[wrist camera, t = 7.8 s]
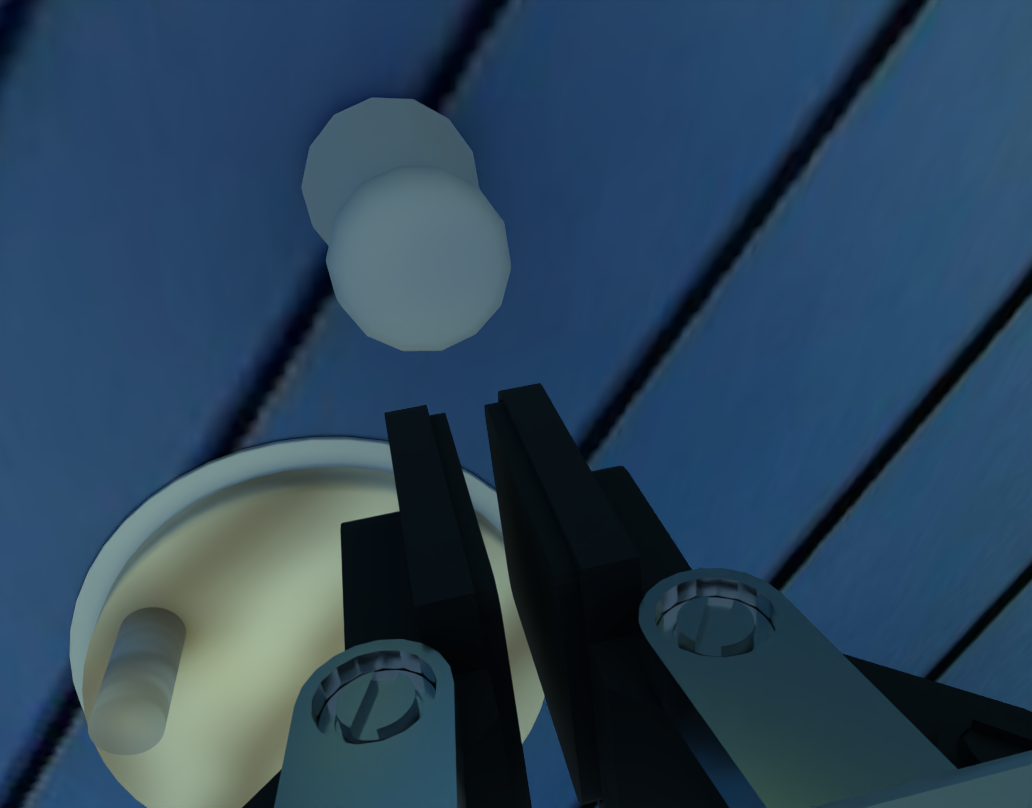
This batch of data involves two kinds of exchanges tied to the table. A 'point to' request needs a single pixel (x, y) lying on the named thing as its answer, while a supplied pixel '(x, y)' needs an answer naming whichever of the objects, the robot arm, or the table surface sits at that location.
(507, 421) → the robot arm
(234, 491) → the dial
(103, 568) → the dial base
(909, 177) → the table surface
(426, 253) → the salt shaker
